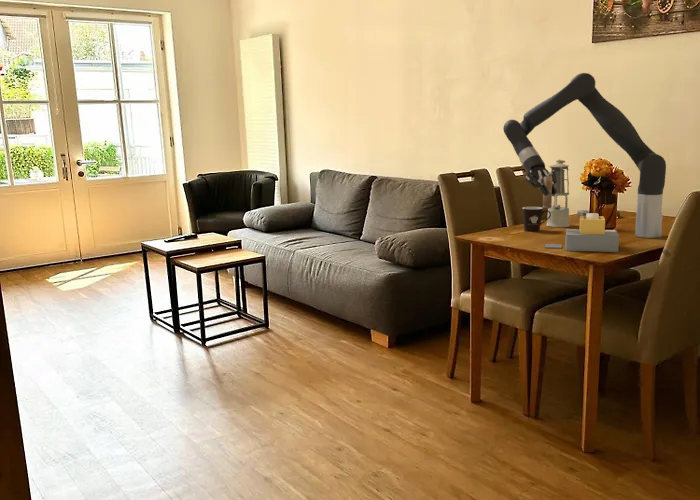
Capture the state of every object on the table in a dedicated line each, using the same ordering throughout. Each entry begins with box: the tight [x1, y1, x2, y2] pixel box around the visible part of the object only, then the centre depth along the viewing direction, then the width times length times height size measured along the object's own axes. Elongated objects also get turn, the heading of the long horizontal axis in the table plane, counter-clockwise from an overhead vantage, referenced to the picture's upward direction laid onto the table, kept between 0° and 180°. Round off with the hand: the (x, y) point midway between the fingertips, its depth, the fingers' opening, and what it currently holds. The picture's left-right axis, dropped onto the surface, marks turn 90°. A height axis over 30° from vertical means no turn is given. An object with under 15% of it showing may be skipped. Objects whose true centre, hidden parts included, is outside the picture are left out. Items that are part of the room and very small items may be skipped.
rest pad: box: [544, 243, 562, 250], centre depth 244 cm, size 6×6×1 cm
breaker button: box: [586, 213, 599, 219], centre depth 238 cm, size 4×4×8 cm
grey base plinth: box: [564, 216, 620, 253], centre depth 239 cm, size 18×12×12 cm, turn 73°
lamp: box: [546, 159, 571, 228], centre depth 289 cm, size 10×13×30 cm
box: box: [576, 209, 621, 218], centre depth 312 cm, size 11×17×3 cm, turn 85°
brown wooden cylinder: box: [542, 176, 553, 209], centre depth 247 cm, size 3×3×12 cm
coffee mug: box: [521, 206, 551, 233], centre depth 279 cm, size 12×9×10 cm
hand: (551, 193), depth 245 cm, fingers closed on brown wooden cylinder, 3 cm apart
